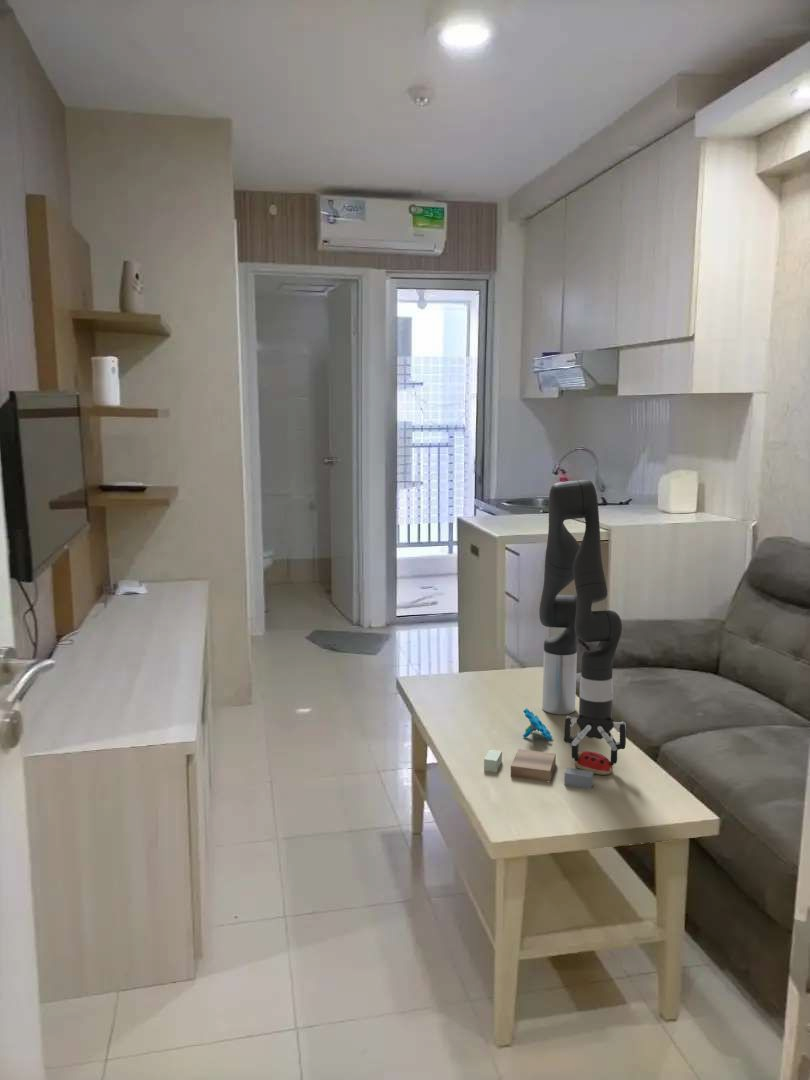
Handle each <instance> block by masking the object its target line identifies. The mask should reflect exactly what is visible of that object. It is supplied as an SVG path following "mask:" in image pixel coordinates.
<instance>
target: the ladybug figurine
mask: <svg viewBox="0 0 810 1080" xmlns="http://www.w3.org/2000/svg"><path fill="white" fill-rule="evenodd" d="M610 762H611V760H610V759H609V758H608V757H606V756H605V755H603V754H602V753H598V752H595V751H589V750H584V751H581V752H578V761H574V765H575V766H576V768H578V769H579V770H585V771H592V772H594V774H593V775H599V776H600V775H601V776H602V775H604V776H605V775H610V774H611V773H613V770H614V768H613V766H612V765H610Z"/></svg>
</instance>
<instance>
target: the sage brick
mask: <svg viewBox="0 0 810 1080" xmlns="http://www.w3.org/2000/svg"><path fill="white" fill-rule="evenodd" d="M502 762H503V750H498V749H491V748H490V749H489V750H488V752H487V753H486V755H485V757H484V759H483V771H485V772H492V773H497V772H498V770H499V768H500V766H501V765H502Z"/></svg>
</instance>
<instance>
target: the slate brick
mask: <svg viewBox="0 0 810 1080" xmlns="http://www.w3.org/2000/svg"><path fill="white" fill-rule="evenodd" d="M594 775H595V774H594V772H592V771H585V770H581V769H579V768H578V769H577V768H571V767H566V769H565V771H564V782H563V783H564V784H563V785H565V786H569V785H570V786H569V787H575V786H576V787H575V788H581V787H582V788H581V789H587V788H589V790H592V788H593V785H594Z"/></svg>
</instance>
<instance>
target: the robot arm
mask: <svg viewBox="0 0 810 1080" xmlns="http://www.w3.org/2000/svg"><path fill="white" fill-rule="evenodd" d="M549 489H550V490H549V494H548V530H547V531H548V534H547V542H546V550H545V556H544V557H545V558H544V577H543V587H542V591H541V592H542V593H541V598H540V603H539V604H540V605H539V614H538V615H539V621H540V623H541V625H543V626H544V627H546V628H556V629H557V628H558V629H559V628H560V629H561V628H563V629H564V630H563V631H562V632H560V633H559V634H556V635H553V636H550V637H548V638H546V639H545V640H544V643H543V666H542V667H543V670H542V672H543V673H542V702H541V703H542V704H541V705H542V706H541V707H542V710H544V711H545V712H546V713H549V714H552V715H553V714H555V715H567V716H566V717H565V720H564V729H563V731H564V734H563V741H564V743H566V744H567V743H568V744H570V745H571V758H572V759H574V761H578V754H579V745H580V742H581V741H582V740H583V739H584V738H585V737H587V738H589V739H593V738H595V739H598V740H602V739H604V741H605V742H606V743H607V744H608V746H609V747H610V765H612V767H613V766H614V765H615V764H617V761H618V751H619V750H624V749H626V743H627V741H626V740H627V723H626V721H625V720H621V721H618V722H617V721H614V720H613V702H614V700H613V698H614V683H613V665H614V658H615V655H616V651H617V648H618V645H619V642H620V639H621V635H622V631H623V623H622V619H621V617H620V615H619V614H618V613H617V612H616V611H614V610H609V609H607V610H592V605H593V604H595V603H599V602H602V601H604V600H605V599H606V598H607V596H608V589H607V587H608V586H607V582H606V581H607V580H606V577H605V572H604V567H603V560H602V550H601V549H602V547H601V530H600V529H601V528H600V527H601V526H600V515H599V513H600V512H599V503H598V502H599V501H598V494H597V490H596V487H595V485H594V483H593V482H592V481H591V480H589V479H580V480H568V481H559V482H556V483H553V484H552V485H551V487H550V488H549ZM576 519H584V520H585V521H584V522H585V530H584V535H583V538H582V541H581V543H579V542H578V540H577V539H576V537H574V536H573V534H572V533H571V532H570V530H568V529H567V527H566V525H565V524H564V522H565V521H567V520H568V521H569V520H576ZM573 581H574V585H575V593H576V595H573V594H560V593H561V591H563V590H564V589H565V588H566V587H567V586H569V585H570V584H571V583H572V582H573ZM578 639H579V640H580V641H581V642H584V643H598V644H597V646H596V647H594V648H590V649H588V650H586V651H584V652H583V653H582V655H581V672H580V673H581V674H580V676H581V677H580V682H579V691H578V692H579V693H578V695H579V703H578V704H579V705H578V706H579V707H578V717H575V716H574V717H572V716H571V715H570V714H572V713H574V712H575V711H576V698H577V696H576V695H577V693H576V692H577V691H576V690H577V659H578ZM575 724H576V725H577V726H578V728H579V730H578V732H577V733H576V734H575V736H574V737H573V736H571V735H572V734H571V733H572V732H571V731H572V728H573V727H574V725H575ZM614 728H615V729H616V731H617V732H618V733H619V741H616V739H615V738H614V735H613V734H612V732H611V731H612V729H614Z"/></svg>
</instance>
